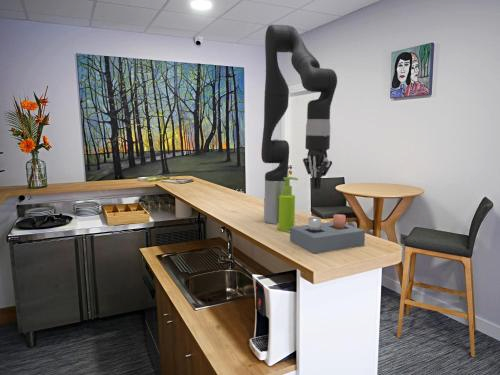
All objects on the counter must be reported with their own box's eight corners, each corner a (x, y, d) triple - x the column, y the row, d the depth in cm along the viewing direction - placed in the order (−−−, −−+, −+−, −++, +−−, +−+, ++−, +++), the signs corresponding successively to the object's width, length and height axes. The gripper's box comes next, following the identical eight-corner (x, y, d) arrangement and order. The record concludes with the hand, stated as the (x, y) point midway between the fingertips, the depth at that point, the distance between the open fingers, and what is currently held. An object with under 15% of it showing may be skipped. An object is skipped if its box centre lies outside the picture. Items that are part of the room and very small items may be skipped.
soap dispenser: (296, 232, 137) (297, 178, 134) (277, 231, 139) (278, 178, 136) (297, 228, 143) (298, 176, 140) (279, 227, 144) (280, 176, 141)
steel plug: (305, 232, 123) (306, 217, 122) (315, 231, 124) (316, 216, 124) (313, 235, 119) (313, 220, 118) (323, 234, 121) (323, 219, 120)
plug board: (289, 241, 126) (290, 227, 126) (337, 234, 135) (337, 221, 134) (313, 253, 114) (314, 237, 113) (364, 245, 122) (365, 230, 122)
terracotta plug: (330, 229, 127) (331, 214, 126) (339, 227, 129) (340, 213, 128) (338, 232, 123) (338, 217, 122) (347, 230, 125) (348, 216, 124)
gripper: (296, 134, 121) (294, 186, 124) (320, 134, 109) (318, 192, 112) (315, 133, 124) (313, 185, 127) (341, 134, 112) (338, 191, 115)
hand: (316, 188), depth 119 cm, fingers closed
